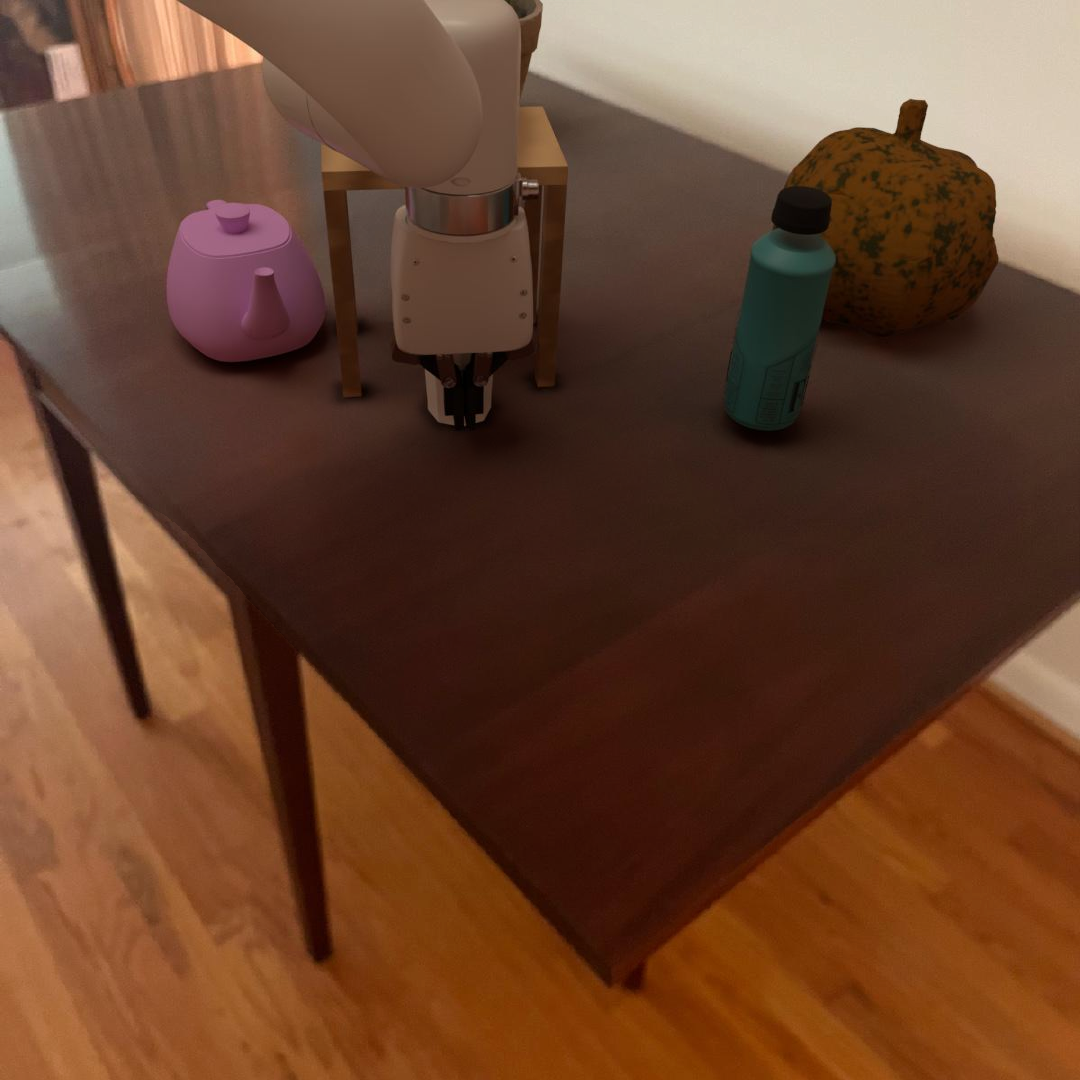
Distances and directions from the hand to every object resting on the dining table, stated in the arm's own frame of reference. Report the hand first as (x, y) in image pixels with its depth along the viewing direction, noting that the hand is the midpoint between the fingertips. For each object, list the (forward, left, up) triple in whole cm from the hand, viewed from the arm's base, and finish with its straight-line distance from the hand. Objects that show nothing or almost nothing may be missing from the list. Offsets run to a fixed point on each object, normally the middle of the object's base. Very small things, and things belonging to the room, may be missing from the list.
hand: (463, 419), depth 83 cm
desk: (0, +13, -2) cm, 13 cm away
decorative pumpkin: (+42, +18, -2) cm, 45 cm away
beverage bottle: (+25, 0, -2) cm, 25 cm away
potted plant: (+7, +63, -2) cm, 63 cm away
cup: (0, +4, -2) cm, 5 cm away
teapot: (-17, +17, -2) cm, 24 cm away
